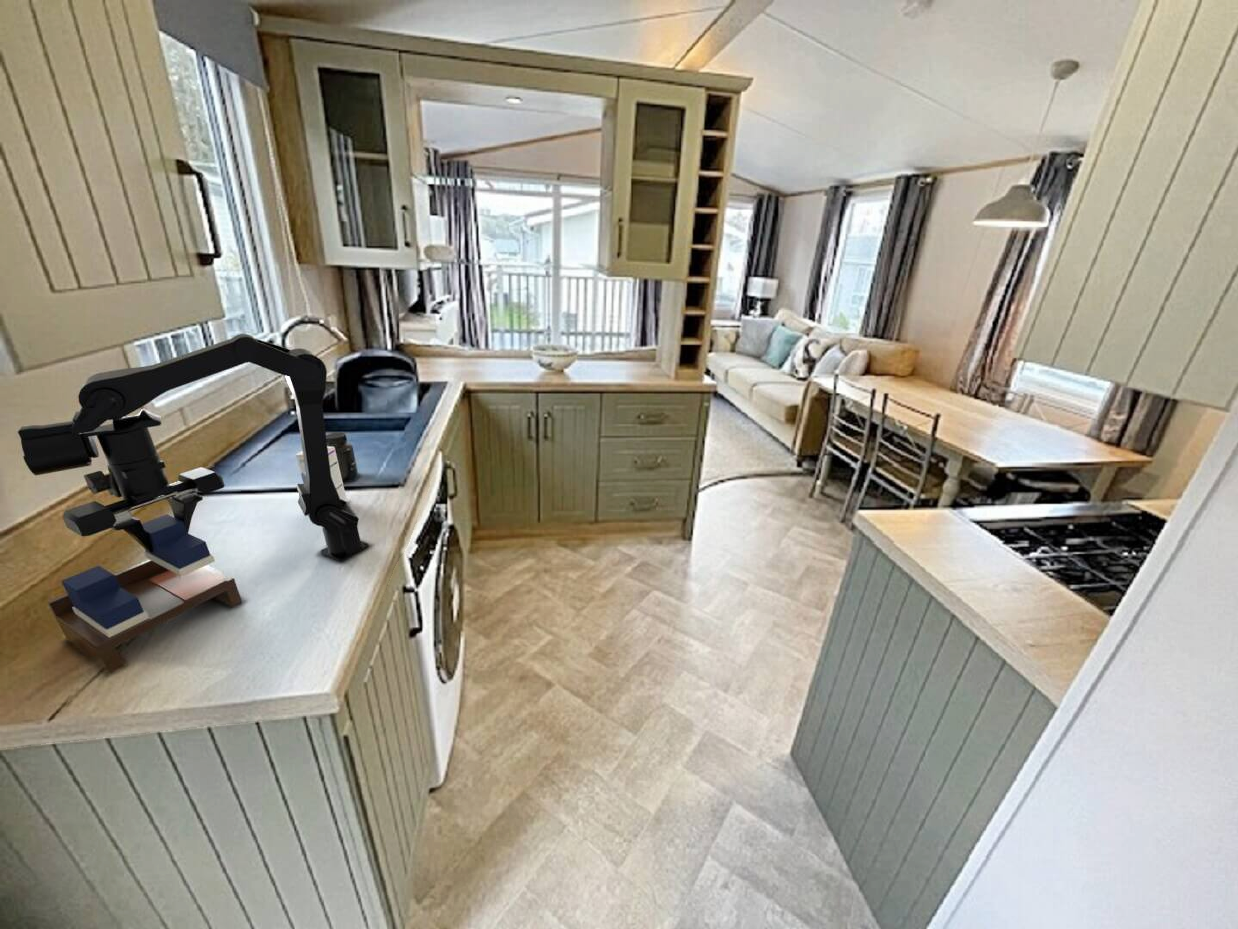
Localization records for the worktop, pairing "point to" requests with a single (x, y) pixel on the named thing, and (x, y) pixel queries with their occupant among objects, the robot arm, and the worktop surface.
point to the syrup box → (333, 468)
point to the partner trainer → (103, 601)
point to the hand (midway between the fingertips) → (168, 544)
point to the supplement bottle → (343, 456)
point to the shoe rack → (145, 606)
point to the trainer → (175, 546)
